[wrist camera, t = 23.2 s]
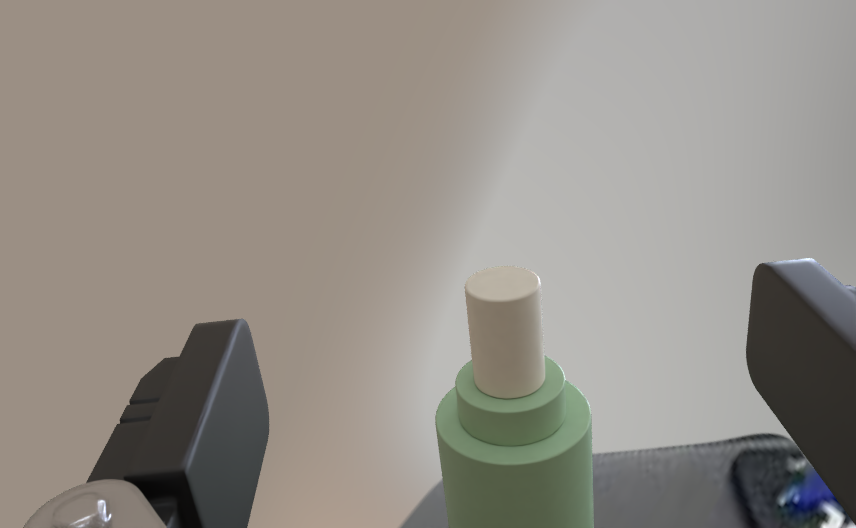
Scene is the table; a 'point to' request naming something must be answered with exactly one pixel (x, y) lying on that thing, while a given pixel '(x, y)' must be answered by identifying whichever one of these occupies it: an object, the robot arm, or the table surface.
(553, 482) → the bottle
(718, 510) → the table surface
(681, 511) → the table surface
